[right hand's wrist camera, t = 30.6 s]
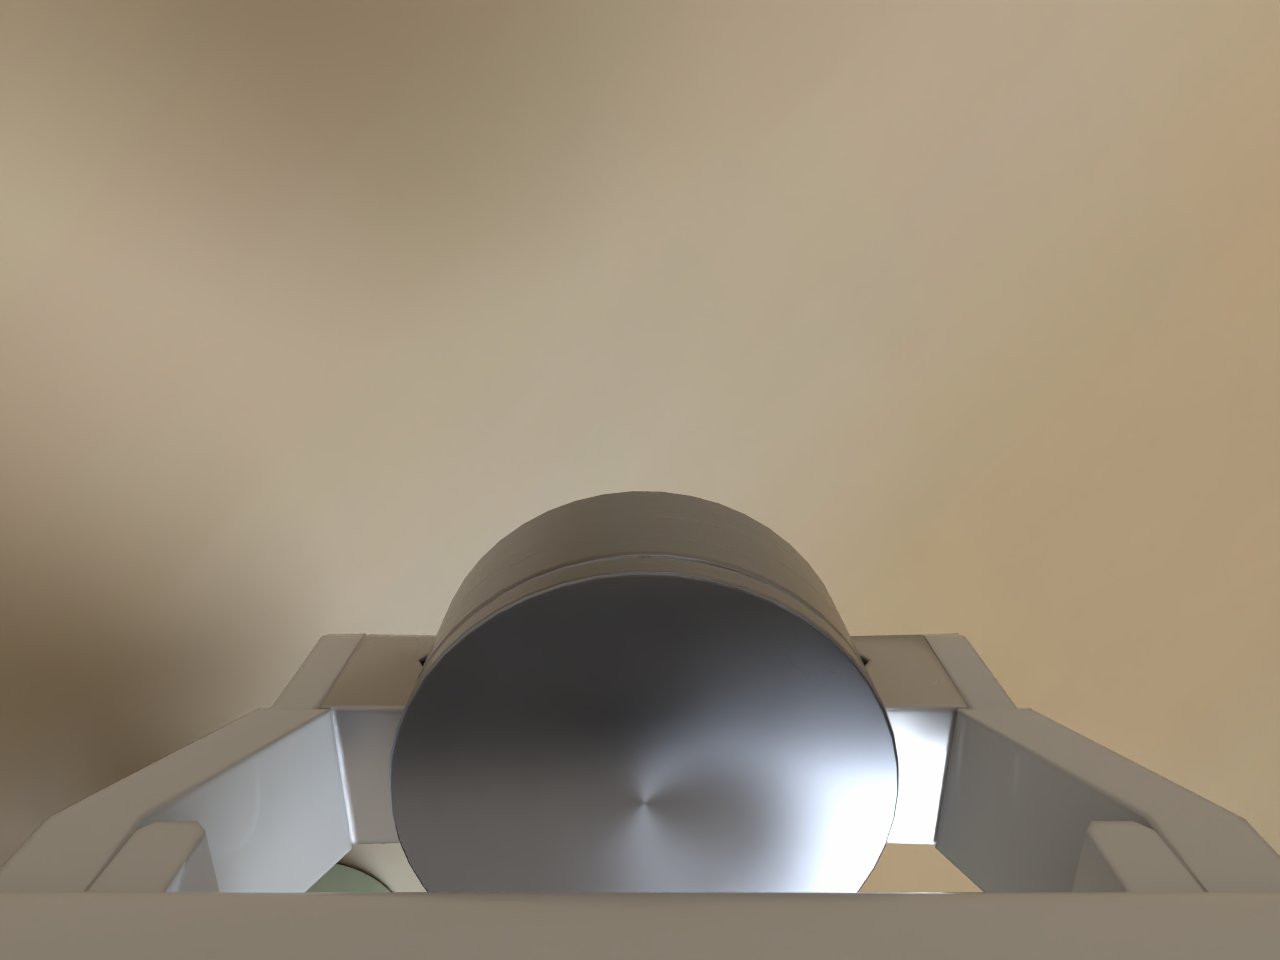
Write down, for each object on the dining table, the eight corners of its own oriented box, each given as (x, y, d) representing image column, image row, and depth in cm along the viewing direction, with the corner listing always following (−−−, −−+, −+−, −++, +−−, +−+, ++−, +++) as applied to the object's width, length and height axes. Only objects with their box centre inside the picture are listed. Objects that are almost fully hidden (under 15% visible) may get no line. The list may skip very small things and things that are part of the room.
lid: (371, 559, 10) (299, 659, 8) (790, 433, 9) (837, 504, 7) (520, 879, 11) (496, 1033, 9) (883, 786, 11) (942, 927, 9)
